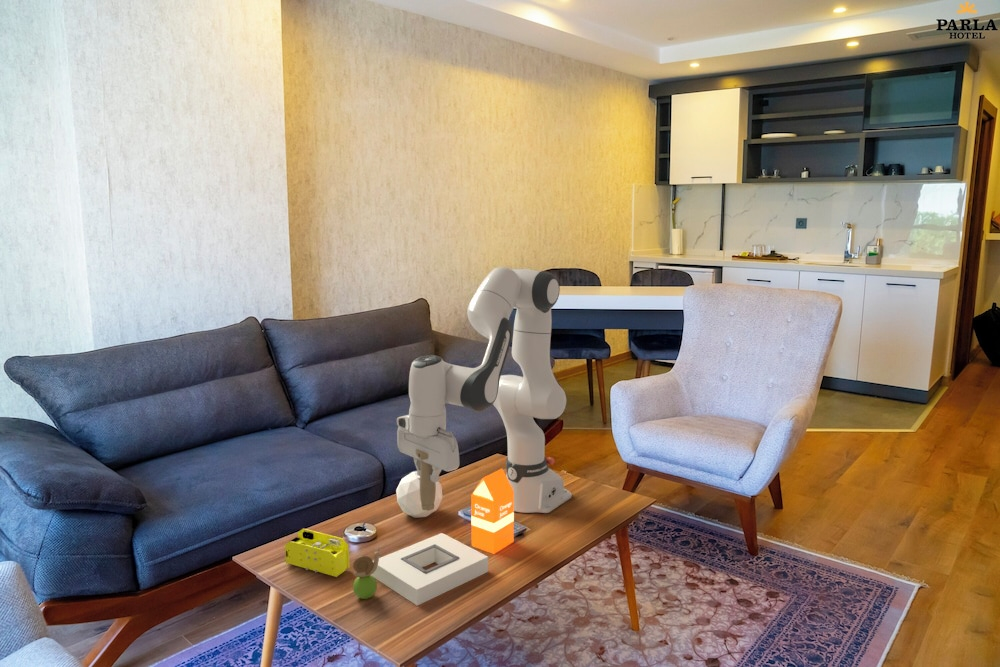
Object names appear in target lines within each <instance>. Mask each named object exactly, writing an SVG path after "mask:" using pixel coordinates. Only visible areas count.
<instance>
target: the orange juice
mask: <svg viewBox="0 0 1000 667" xmlns="http://www.w3.org/2000/svg"><path fill="white" fill-rule="evenodd" d="M470 495H471V496H470V497H471V498H470V500H471V501H470V502H471V506H470V508H471V510H470V511H471V517H470V518H471V519H470V520H471V522H470V523H471V524H470V526H471V546H472V547H474V548H476V549H479V550H481V551H484V552H487V553H491V554H493V555H495V554H496V553H498V552H500V551H501V550H503V549H505V548H506V547H508V546H509V545H511V544H512V543H514V542H515V540H514V538H515V537H514V536H515V535H514V534H515V533H514V530H515V528H514V527H515V525H514V522H515V511H514V491H513V489H512V487H511V485H510V483H509V481H508V479H507V477H506V473H505V471H504V469H503V468H500V469H498V470H496V471H494V472H492V473H490V474H488V475H486V476H484V477H482V479H481V480H480V481H479V483H478V485H477V486H476V487H475V489H474V491H473V492H472V494H470Z"/></svg>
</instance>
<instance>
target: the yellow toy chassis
mask: <svg viewBox="0 0 1000 667" xmlns="http://www.w3.org/2000/svg"><path fill="white" fill-rule="evenodd" d="M296 534H297V537H295V538H293V539H291V540H289V541H288V542H287V543H285V544H284V550H285V551H284V553H285V563H286V564H288V565H293V566H296V567H300V568H302V569H303V568H304V569H305V570H306V571H308V570H310V571H314V573H321V574H326V575H328V576H332V577H336V578H338V576H340V575H341V574H343V573H344V572H345V571H346V570H347V569H350V554H349V553H350V552H349V550H350V549H349V547H350V546H349V544H348V543H347V542H346V541H345V540H344V538H343V537H339V536H334V535H331V534H327V533H323V532H318V531H315V530H311V529H307V528H302V529H300V530H299V531H298V532H297V533H296Z"/></svg>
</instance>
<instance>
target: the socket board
mask: <svg viewBox="0 0 1000 667" xmlns="http://www.w3.org/2000/svg"><path fill="white" fill-rule="evenodd" d="M372 561H373V562H374V560H372ZM433 563H435V564H437V565H435V566H432V567H430V568H428V569H425V568H424V567H427V566H429V565H431V564H433ZM487 573H489V556H487V555H486V554H484V553H482V552H480V551H478V550H476V549H474V548H472V547H470V546H468V545H466V544H465V543H463V542H460V541H459V540H457V539H455V538H452V537H451V536H450V535H447V534H445V533H443V532H440V533H438V534H435V535H433V536H431V537H428V538H425V539H424V540H421V541H418V542H415V543H413V544H411V545H408V546H406V547H403V548H400V549H398V550H396V551H393V552H391V553H389V554H386V555H384V556H382V557H381V556H380V557H379V562H378V566H377V569H376V570H375V572H374V573H373V574H371V576H373V577H374V578H375V580H376V581H378V582H380V583H382V584H383V585H384V586H386V587H388V588H389V589H391V590H393V591H394V592H395V593H397V594H398V595H399V596H402V597H403V598H404V599H406V600H407V601H409V602H411V603H412V604H414V605H415V606H419V605H422V604H424V603H426V602H429V601H430V600H432V599H434V598H436V597H438V596H441V595H443V594H444V593H446V592H448V591H451V590H453V589H455V588H457V587H459V586H462V585H464V584H465V583H468V582H470V581H472V580H474V579H476V578H478V577H481V576H482V575H484V574H487Z"/></svg>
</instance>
